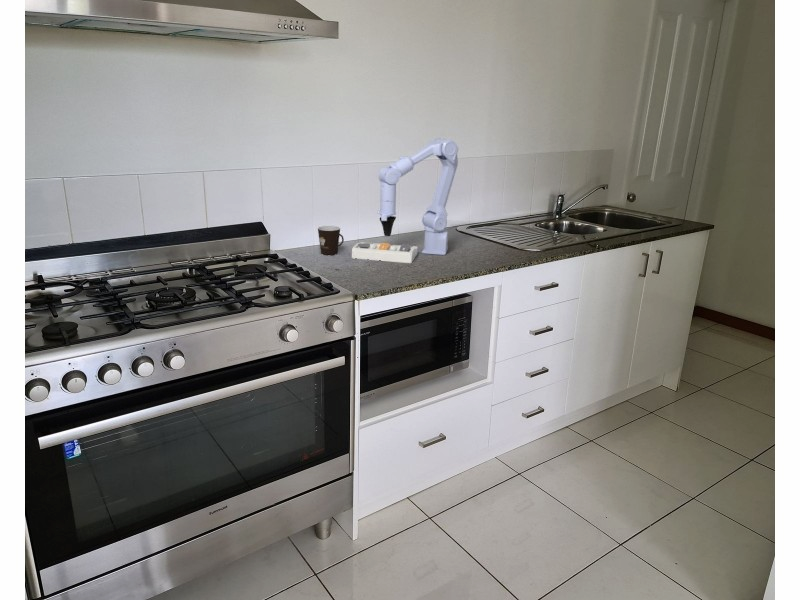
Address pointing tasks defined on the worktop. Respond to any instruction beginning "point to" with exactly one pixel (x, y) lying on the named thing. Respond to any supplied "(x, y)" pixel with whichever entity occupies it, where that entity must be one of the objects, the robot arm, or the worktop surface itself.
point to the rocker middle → (384, 246)
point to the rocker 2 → (404, 247)
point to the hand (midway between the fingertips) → (387, 235)
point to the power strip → (384, 253)
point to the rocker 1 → (363, 245)
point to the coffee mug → (329, 239)
